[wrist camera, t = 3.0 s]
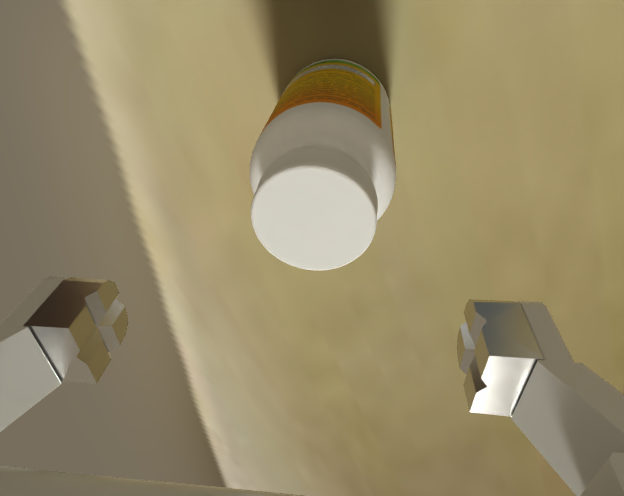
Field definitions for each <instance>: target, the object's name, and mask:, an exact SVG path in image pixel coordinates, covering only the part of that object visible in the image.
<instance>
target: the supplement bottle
mask: <svg viewBox="0 0 624 496" xmlns="http://www.w3.org/2000/svg"><path fill="white" fill-rule="evenodd" d="M250 181H251V187H252V190H253V194H254V197H253V200H252V205H251V219H252V225H253V228H254V231H255V233H256V235H257V237H258V239H259V240H260V242H261V243H262V245H263V246H264V247H265V248H266V249H267V250H268V251H269V252H270V253H271V254H272V255H274V256H275V257H277V258H278V259H280V260H281V261H283V262H285V263H287V264H289V265H292V266H295V267H298V268H302V269H306V270H329V269H335V268H338V267H341V266H344V265H346V264H348V263H350V262H352V261H354V260H355V259H356V258H358V257H359V256H360V255H361V254H362V253H363V252H364V251H365V250H366V249H367V248H368V246H369V245H370V243H371V241H372V239H373V237H374V234H375V231H376V225H377V220H378V219H379V218H380V217H381V216H382V214H383V213H384V212H385V210H386V209H387V207H388V205H389V203H390V201H391V198H392V195H393V192H394V188H395V181H396V162H395V152H394V140H393V128H392V115H391V108H390V103H389V99H388V96H387V93H386V91H385V89H384V87H383V85H382V84H381V82H380V81H379V80H378V79H377V77H376V76H375V75H374V74H373V73H371V72H370V71H369V70H368V69H366V68H365V67H363V66H361V65H359V64H357V63H355V62H352V61H349V60H345V59H326V60H321V61H318V62H315V63H312V64H310V65H308V66H307V67H305V68H303V69H302V70H301V71H300V72H298V73H297V74H296V75H295V76H294V77H293V78H292V80H291V81H290V82H289V84H288V85H287V87H286V88H285V90H284V92H283V94H282V96H281V98H280V100H279V101H278V103H277V105H276V107H275V109H274V111H273V113H272V114H271V116H270V118H269V120H268V122H267V123H266V125H265V127H264V129H263V131H262V132H261V134H260V136H259V138H258V140H257V142H256V145H255V147H254V150H253V153H252V157H251V162H250Z"/></svg>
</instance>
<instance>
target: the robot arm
mask: <svg viewBox="0 0 624 496" xmlns="http://www.w3.org/2000/svg"><path fill="white" fill-rule="evenodd" d="M118 294H119V291H118V289H117V287H116V284H115V282H112V281H109V280H101V279H88V278H75V277H69V278H68V277H57V276H49V277H46V278H44V279H42V280H41V281H40V282H39V284H38V285H37V286H36V287H35V288H34V289H33V290H32V291H31V292H30V293H29V294H28V295H27V296H26V297H25V298H24V299H23V301H21V303H20V304H19V305H18V306H17V307H16V308H15V309H14V310H13V311H12V312H11V313H10V314H9V315H8V316H7V318H5V320H4V321H3V322H2V323H1V324H0V432H1V431H2V430H3V429H5V428H6V427H7V426H8V425H10V424H11V423H12V422H13V421H15V420H16V419H17V418H19V417H20V416H21V415H22V414H24V413H25V412H26V411H27V410H29V409H30V408H31V407H33V405H35V404H36V403H37V402H39V401H40V400H41V399H43V398H44V397H45V396H47V395H48V394H49V393H50V392H52V391H53V390H54V389H55V388H57V387H58V386H59V385H61V382H78V383H79V382H80V383H97V382H98V381H99V379H100V377H101V376H102V374H103V372H104V371H105V369H106V367H107V366H108V364H109V362H110V361H111V358H110V353H109V352H110V351H111V350H113V349H114V348H116V347H117V346H119V345H120V344H121V342H122V340H123V339H124V337H125V335H126V331H127V326H128V317H127V312H126V309H125V307H124V306H123V305H122V304H121V303H120V302H118V301H117V300H116V298H117V296H118ZM464 315H465V319H466V323H464V324H463V325H462V326H460V329H459V333H458V339H457V355H458V361H459V366H460V369H461V370H462V371H463V372H464V373H465V374H466V375H467V376H466V379H465V382H464V389H465V394H466V398H467V402H468V407H469V411H470V412H473V413H482V414H492V415H502V416H511V419H512V420H513V421H514V423H515V424H516V425H517V426H518V427H519V428H520V430H521V431H522V432H523V433H524V434H525V436H526V437H527V438H528V439H529V440H530V441H531V443H532V444H533V445H534V446H535V447H536V448H537V450H538V451H539V452H540V453H541V454H542V456H543V457H544V458H545V459H546V460H547V461H548V463H549V464H550V465H551V466H552V467H553V469H554V470H555V471H556V472H557V473H558V474H559V476H560V477H561V478H562V479H563V480H564V482H565V483H566V484H567V485H568V486H569V487H570V489H571V490H572V491H573V492H574V493H575V495H576V496H624V394H622V393H621V392H620V391H618V390H617V389H616V388H614V387H613V386H612V385H610V384H609V383H608V382H606V381H605V380H604V379H602V378H601V377H600V376H598V375H597V374H596V373H594V372H593V371H592V370H590V369H589V368H588V367H587V366H585V365H584V364H583V363H574V361H573V359H572V357H571V355H570V353H569V351H568V349H567V347H566V345H565V343H564V341H563V339H562V337H561V335H560V333H559V331H558V329H557V327H556V325H555V323H554V321H553V319H552V317H551V315H550V313H549V311H548V309H547V307H546V305H544V304H543V303H542V302H522V301H517V302H514V301H493V300H472V299H469V301H468V302H467V304H466V307H465V310H464ZM0 496H304V495H293V494H283V493H273V492H263V491H253V490H242V489H232V488H222V487H211V486H200V485H191V484H180V483H170V482H159V481H149V480H139V479H129V478H118V477H108V476H97V475H88V474H77V473H67V472H57V471H47V470H36V469H26V468H16V467H5V466H0Z"/></svg>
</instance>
